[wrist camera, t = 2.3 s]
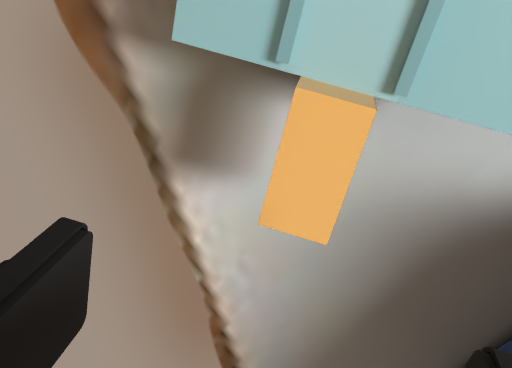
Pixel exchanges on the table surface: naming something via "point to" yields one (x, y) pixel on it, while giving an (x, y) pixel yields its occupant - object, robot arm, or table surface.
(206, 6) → the lid
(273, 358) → the table surface
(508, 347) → the lunch bag
